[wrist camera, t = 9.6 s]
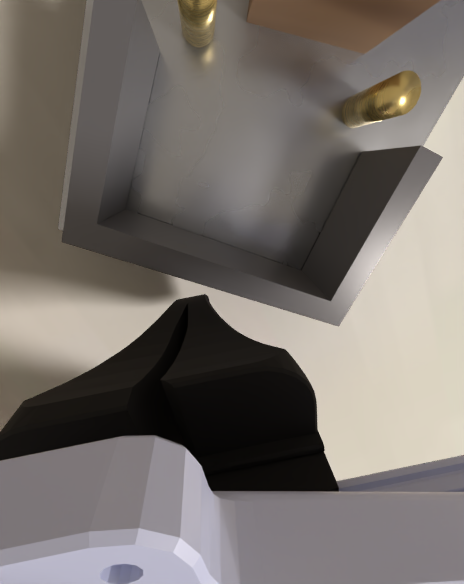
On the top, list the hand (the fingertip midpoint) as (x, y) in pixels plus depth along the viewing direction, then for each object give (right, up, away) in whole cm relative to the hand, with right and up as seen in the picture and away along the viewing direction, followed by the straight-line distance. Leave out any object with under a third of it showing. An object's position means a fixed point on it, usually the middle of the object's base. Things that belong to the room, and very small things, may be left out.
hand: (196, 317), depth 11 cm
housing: (+2, +5, -1) cm, 5 cm away
